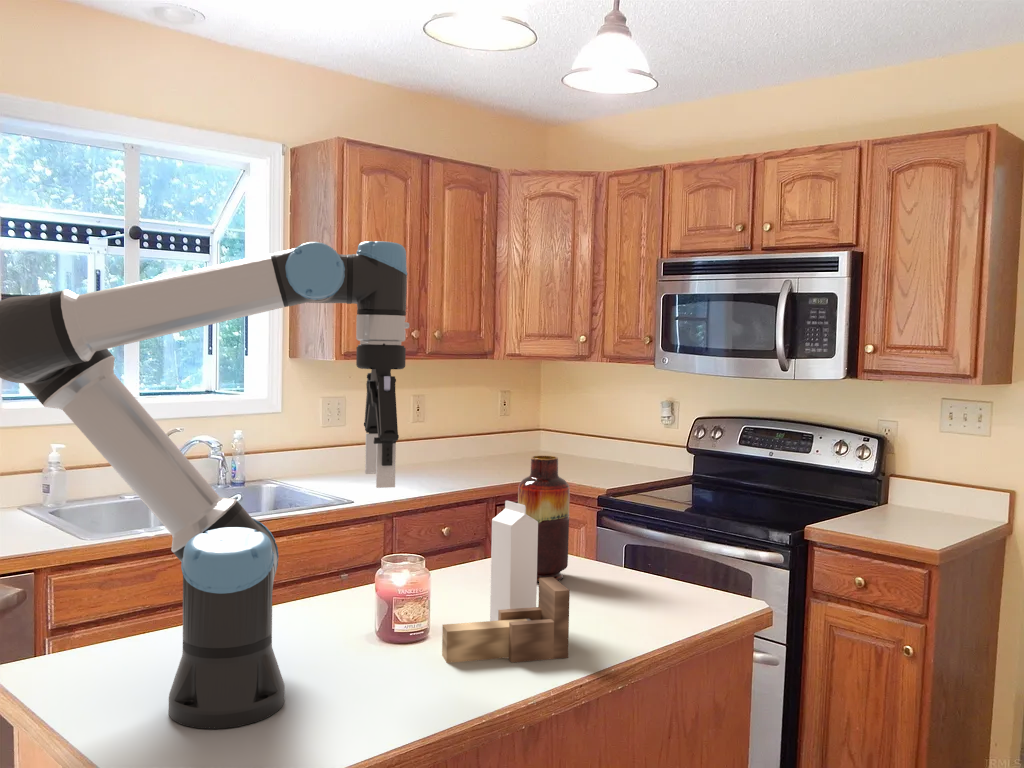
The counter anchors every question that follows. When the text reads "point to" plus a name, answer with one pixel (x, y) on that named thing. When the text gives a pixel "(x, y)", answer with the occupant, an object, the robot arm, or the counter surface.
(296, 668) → the counter surface
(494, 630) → the wooden block
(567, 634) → the brown wooden blocks
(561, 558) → the vase
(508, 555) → the milk
